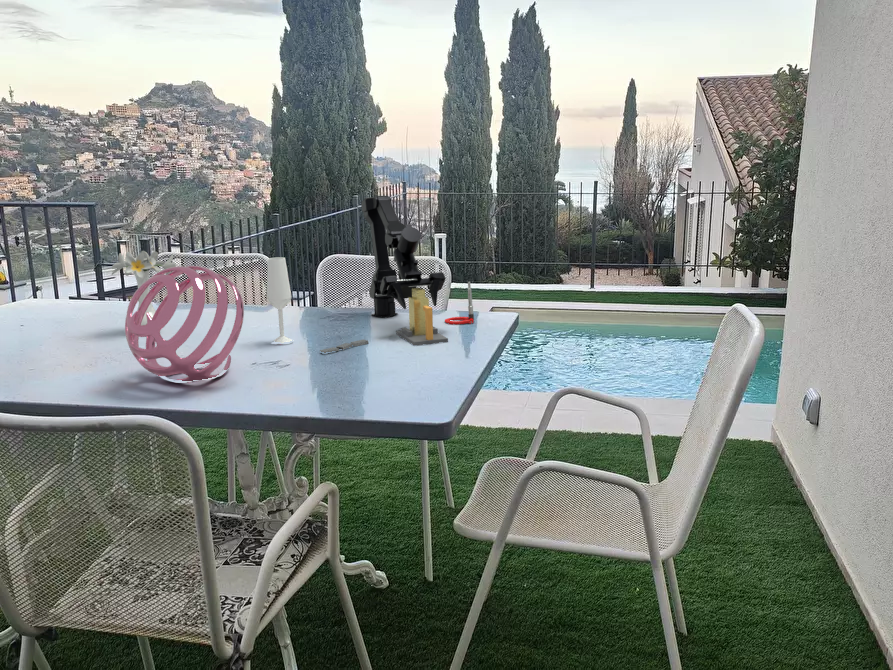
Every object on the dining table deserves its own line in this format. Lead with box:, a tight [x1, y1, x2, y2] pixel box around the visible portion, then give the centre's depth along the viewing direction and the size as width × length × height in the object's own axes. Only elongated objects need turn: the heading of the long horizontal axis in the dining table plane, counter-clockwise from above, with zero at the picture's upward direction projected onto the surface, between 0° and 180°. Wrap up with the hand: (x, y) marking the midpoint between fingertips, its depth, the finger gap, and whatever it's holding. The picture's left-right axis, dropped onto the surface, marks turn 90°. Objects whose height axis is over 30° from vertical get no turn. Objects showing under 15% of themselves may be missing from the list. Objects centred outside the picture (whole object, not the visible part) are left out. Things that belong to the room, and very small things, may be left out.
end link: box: [408, 287, 430, 336], centre depth 207 cm, size 4×4×13 cm
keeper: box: [395, 305, 449, 346], centre depth 206 cm, size 16×10×10 cm, turn 22°
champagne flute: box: [266, 256, 293, 343], centre depth 202 cm, size 7×7×24 cm
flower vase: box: [111, 250, 177, 325], centre depth 218 cm, size 13×18×25 cm
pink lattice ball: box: [124, 265, 245, 381], centre depth 169 cm, size 28×28×27 cm
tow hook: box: [444, 281, 475, 325], centre depth 226 cm, size 8×13×9 cm
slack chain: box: [319, 338, 369, 353], centre depth 196 cm, size 4×16×1 cm, turn 144°
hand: (420, 306), depth 205 cm, fingers open, 9 cm apart
